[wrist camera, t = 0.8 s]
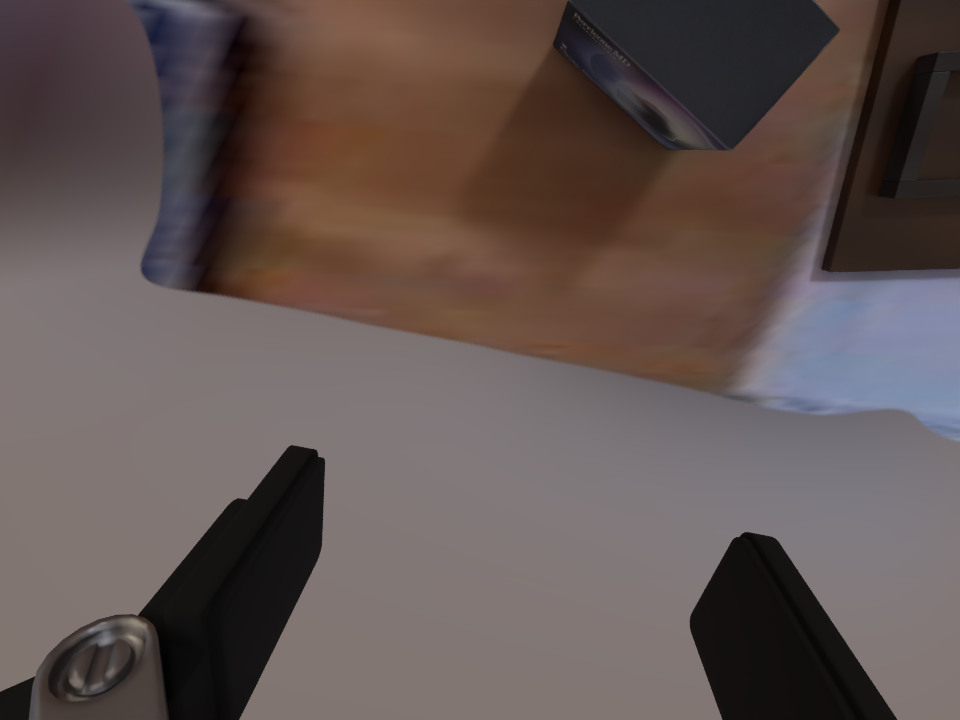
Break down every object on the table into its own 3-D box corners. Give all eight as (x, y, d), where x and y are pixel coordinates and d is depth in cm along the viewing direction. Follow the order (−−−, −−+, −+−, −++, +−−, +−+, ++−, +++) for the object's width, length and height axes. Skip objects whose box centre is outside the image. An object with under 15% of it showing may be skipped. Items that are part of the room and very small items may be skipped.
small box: (545, 50, 29) (558, 0, 20) (616, -57, 27) (670, -173, 17) (665, 157, 31) (729, 158, 22) (741, 66, 29) (851, 22, 19)
